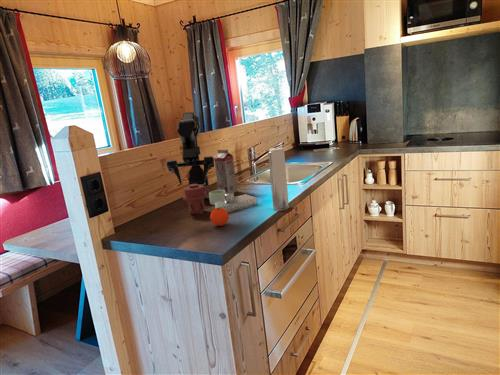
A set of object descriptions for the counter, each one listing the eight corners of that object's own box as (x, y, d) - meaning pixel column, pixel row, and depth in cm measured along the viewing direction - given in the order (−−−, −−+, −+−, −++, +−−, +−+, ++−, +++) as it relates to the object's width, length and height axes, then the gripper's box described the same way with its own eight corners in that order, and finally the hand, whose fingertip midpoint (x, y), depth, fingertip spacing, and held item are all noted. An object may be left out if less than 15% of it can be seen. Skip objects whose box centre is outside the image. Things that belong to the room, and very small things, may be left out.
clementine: (222, 220, 142) (220, 203, 140) (235, 222, 137) (233, 205, 136) (207, 227, 136) (205, 209, 134) (220, 229, 131) (218, 211, 130)
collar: (207, 202, 169) (205, 192, 168) (221, 198, 173) (220, 188, 172) (214, 205, 163) (213, 195, 161) (229, 201, 166) (228, 191, 165)
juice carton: (228, 194, 179) (223, 150, 174) (218, 193, 183) (213, 150, 178) (237, 191, 184) (232, 148, 179) (227, 190, 188) (222, 148, 183)
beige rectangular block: (215, 209, 158) (213, 194, 156) (246, 200, 166) (244, 186, 164) (225, 213, 150) (223, 198, 149) (256, 204, 158) (255, 189, 157)
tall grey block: (279, 205, 153) (274, 147, 147) (292, 207, 149) (287, 147, 143) (270, 209, 148) (264, 149, 142) (283, 211, 144) (277, 149, 138)
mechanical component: (210, 213, 152) (187, 217, 149) (207, 207, 161) (184, 211, 159) (206, 185, 149) (182, 189, 146) (203, 180, 158) (180, 184, 156)
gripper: (163, 141, 140) (166, 179, 135) (211, 137, 142) (215, 174, 137) (167, 153, 150) (170, 188, 145) (212, 149, 152) (216, 183, 148)
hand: (192, 183), depth 144 cm, fingers open, 9 cm apart
